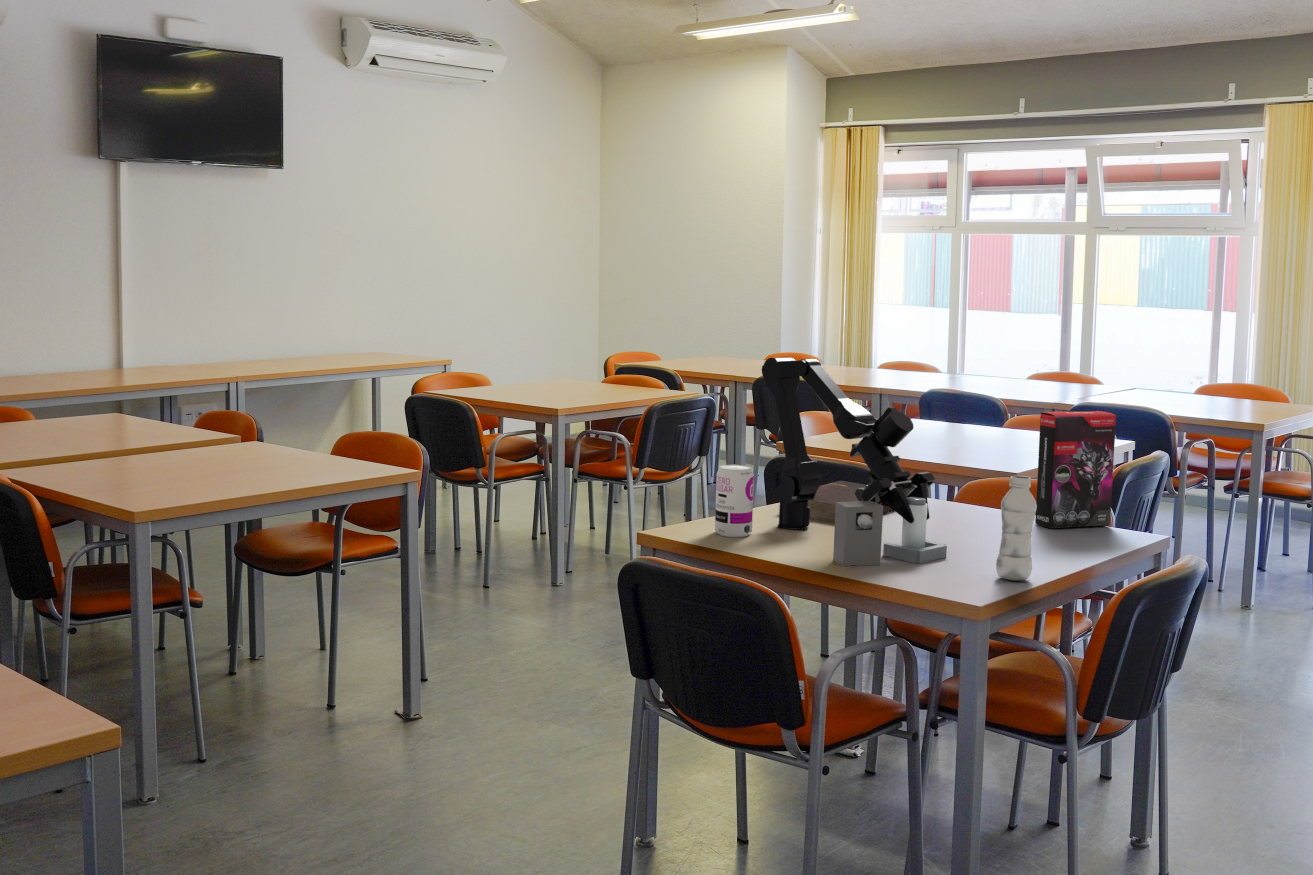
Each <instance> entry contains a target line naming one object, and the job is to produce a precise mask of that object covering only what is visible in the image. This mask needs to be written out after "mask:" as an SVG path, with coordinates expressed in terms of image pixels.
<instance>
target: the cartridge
mask: <svg viewBox="0 0 1313 875" xmlns="http://www.w3.org/2000/svg"><path fill="white" fill-rule="evenodd" d="M906 499H907V501H908V504H909V506H910V509H911V511H912V514H913V517H914V522H913V523H909V522H908V521H906V520H905V519H904V518H903V517H902V524H901V525H902V528H901V529H902V530H901V544H900V546H904V547H909V548H913V549H921V548H925V540H926V534H927V523H928V522H927V521H928V520H927V506H928V507H929V503H928V504H927V503H926V499H924V498H920V497H907V498H906Z"/></svg>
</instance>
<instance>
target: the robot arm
mask: <svg viewBox="0 0 1313 875" xmlns="http://www.w3.org/2000/svg"><path fill="white" fill-rule="evenodd" d="M761 375H762V378H763V380H764V384H765V386H766V388H767V389H768V391H769V392H770V393H771V395H772V396H773V398H774V401H775V408H776V412H777V417H778V423H779V428H780V433H781V434H780V435H781V440H782V444H783V451H784V455H785V460H784V463H783V466H782V469H781V482H780V483H779V484H778V485H777V486H776V487H775V488H774V489H773V490H772V495H773V500H774V501H775V502H779V507H778V508H779V509H778V510H779V511H778V524H777V528H779V529H790V530H792V529H793V530H805V531H806V530H807V529H808V527H809V526H810V524H811V518H810V506H808V500H814V497H815V494H816V491H817V490H818V488H819V487H820V486H821V479H822V478H823V477H822V475H821V472H820V463H819V461H818V460H812V459H811V457H810V456H809V454H808V451H807V447H806V440H805V435H804V430H803V425H802V420H801V414H800V409H799V403H798V397H797V393H798V392H797V391H798V388H799V385H800V381H801V378H802V379H803V380H804V381H805V383H806V384H807V385H808V386H809V387H810V389H811V390H812V391H813V392H814V393H815V395H816V396H817V397H818V398H819V400H821V402H822V403H823V405H824V406H825V407H826V408H827V409H828V410H829V411H830V413H831V415H832V419H833V420H832V421H833V422H832V423H833V425H834V426H835V428H836V429H837V431H838V433H839V434H840V436H841V437H842V438H843V439H846V440H853V439H860V441H858V443H852V444H851V450H850V452H849V457H851V458H852V457H861V459H862V460H863V461H864V463H865V464H866V466H867V468H868V470H869V471H868V472H867V475H868V478H869V480H870V482H869V483H868V484H865V485H866V488H858V489H857V490H856V492H855V495H856V497H857V499H858V501H873V502H875V503H878V504H880V505H882V506H883V507H884V506H888V507H890V508H891V509H893V510H894V511H893V512H895V513H896V514H898V515H899V516H900V517H902V519H903V518H904V519H905V520H906V521H908V522H909V523H913V522H914V517H913V514H912V511H911V509H910V506H909V504H908V501H907V499H906V498H907V497H920V498H924V499H926V503H927V504H928V506H927V521H928V520H929V519H930V512H929V511H930V510H929V502H928V490H927V489H929V488H930V487H931V486H932V485H933V484H934V483H935V482H936V478H935V477H934V476H933V474H932V472H929V471H923V472H917V473H915V474H914V475H913V476H912V477H911V475H912V474H911V472H910V471H909V470H905V471H904V469H903V468H902V467H901V465H900V463H899V462H900V460H901V458H900V456H899V455H893V453H892V452H891V450H890V449H889V447H890V448H895V447H897V446H898V445H899V444H900V443H901V442H902V441H903V440H904V439H905V438H906V437H907V436H908V435H909V434H910V433H911V432H912V431H913V430H914V422H913V420H912V419H911V417H909V416H907V415H906V414H905V413H903V412H901V411H900V410H898V409H897V408H896V407H895V406H889V407H887V408H886V409H885V410H884V412H883V413H882V414H881V416H879V417H878V418H876V417H874V415H873V414H872V413H871V412H869V410H867V409H866V408H865V407H863V406H862V405H860V404H858V403H856V402H854V401H853V400H851V399H850V398H849V397H848V396H847V395H846V394H845V393H844V391H843V390H842V389H841V388H840V387H839V386H838V384H837V383H836V382H835V381H834V380H833V378H832V377H831V376H830V375H829V374H828V373H827V372H826V370H825V369H824V368H823V367H822V365H821V363H820V361H819V360H817V359H816V358H802V359H798V360H796V359H794V358H793V357H791V356H788V357H787V356H783V357H778V356H777V357H768V358H767V359H766V360H765V361H764V363H763V365H762V366H761ZM910 477H911V478H910ZM908 478H910V479H908Z"/></svg>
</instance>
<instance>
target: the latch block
mask: <svg viewBox="0 0 1313 875" xmlns="http://www.w3.org/2000/svg"><path fill="white" fill-rule="evenodd" d="M860 512H862V513H864V514H866V515H869V516H870V517H871V518H872V519H873V524H872V526H871V527H870V528H869V529H863V528H861V527H859V526H857V525H856V513H860ZM883 518H884V514H883V506H882V505H880V504H878V503H875V502H873V501H858V502H836V510H835V522H834V535H833V553H832V560H833V561H834V562H835V561H836V562H835V563H837V562H838V563H837V564H839V565H840V564H841V565H840V566H842V565H843V566H842V567H852V566H851V565H861V566H876V565H879V566H880V565H881V558H882V557H881V553H882V541H883V540H882V539H883V538H882V537H883V536H882V535H883V520H884V519H883ZM871 564H872V565H871Z"/></svg>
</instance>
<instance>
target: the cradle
mask: <svg viewBox="0 0 1313 875" xmlns="http://www.w3.org/2000/svg"><path fill="white" fill-rule="evenodd" d="M882 549H883V550H882V552H883V553H882V555H883V556H885V557H889V558H891V559H897V560H900V561H904V562H908V563H913V564H924V563H928V562H933V561H937V560H942V559H945V558H947V550H948V546H947V545H946V543H941V542H936V541H932V540H927V539H925V548H921V549H913V548H909V547H904V546H901V544H900V545H899V544H895V543H891V542H885V543H883V548H882Z"/></svg>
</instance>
